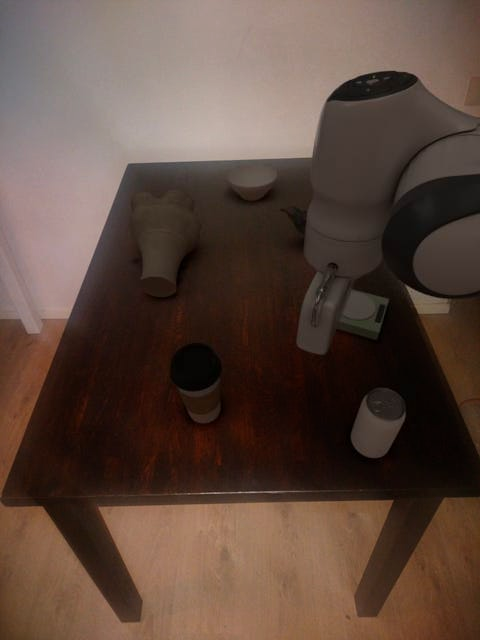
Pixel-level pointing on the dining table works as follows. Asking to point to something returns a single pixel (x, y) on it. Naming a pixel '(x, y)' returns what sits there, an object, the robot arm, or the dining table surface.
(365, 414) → the can
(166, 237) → the vase
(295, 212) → the bird figurine
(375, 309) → the scale
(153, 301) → the dining table surface
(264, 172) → the bowl
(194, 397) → the coffee cup
